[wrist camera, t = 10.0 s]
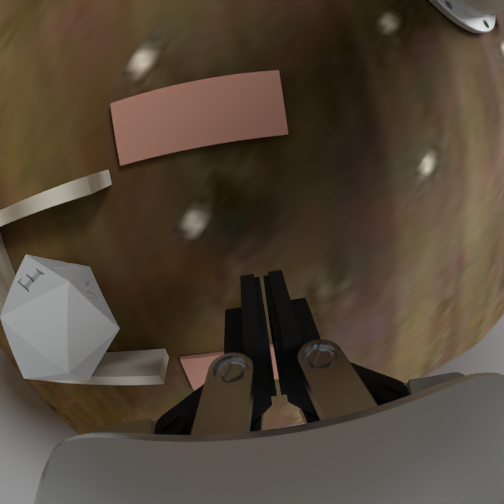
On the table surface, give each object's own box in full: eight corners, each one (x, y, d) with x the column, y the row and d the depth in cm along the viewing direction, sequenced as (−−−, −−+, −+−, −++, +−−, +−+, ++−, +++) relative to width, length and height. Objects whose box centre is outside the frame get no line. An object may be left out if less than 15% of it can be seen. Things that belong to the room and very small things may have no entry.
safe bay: (108, 169, 15) (87, 176, 12) (168, 357, 21) (163, 384, 18) (-11, 215, 15) (-34, 227, 12) (53, 360, 21) (41, 380, 18)
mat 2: (304, 337, 21) (305, 340, 21) (305, 370, 23) (306, 373, 22) (180, 356, 21) (180, 359, 21) (193, 386, 22) (193, 390, 22)
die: (151, 290, 19) (57, 267, 10) (122, 392, 18) (32, 424, 8) (77, 257, 21) (-8, 225, 11) (54, 346, 19) (-30, 348, 10)
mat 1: (277, 71, 14) (278, 70, 13) (286, 134, 15) (288, 134, 15) (112, 104, 13) (110, 103, 13) (122, 165, 15) (120, 165, 15)
